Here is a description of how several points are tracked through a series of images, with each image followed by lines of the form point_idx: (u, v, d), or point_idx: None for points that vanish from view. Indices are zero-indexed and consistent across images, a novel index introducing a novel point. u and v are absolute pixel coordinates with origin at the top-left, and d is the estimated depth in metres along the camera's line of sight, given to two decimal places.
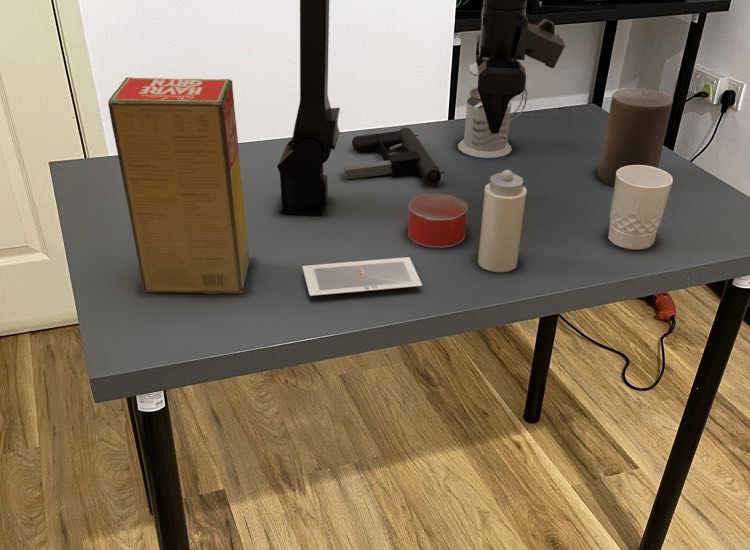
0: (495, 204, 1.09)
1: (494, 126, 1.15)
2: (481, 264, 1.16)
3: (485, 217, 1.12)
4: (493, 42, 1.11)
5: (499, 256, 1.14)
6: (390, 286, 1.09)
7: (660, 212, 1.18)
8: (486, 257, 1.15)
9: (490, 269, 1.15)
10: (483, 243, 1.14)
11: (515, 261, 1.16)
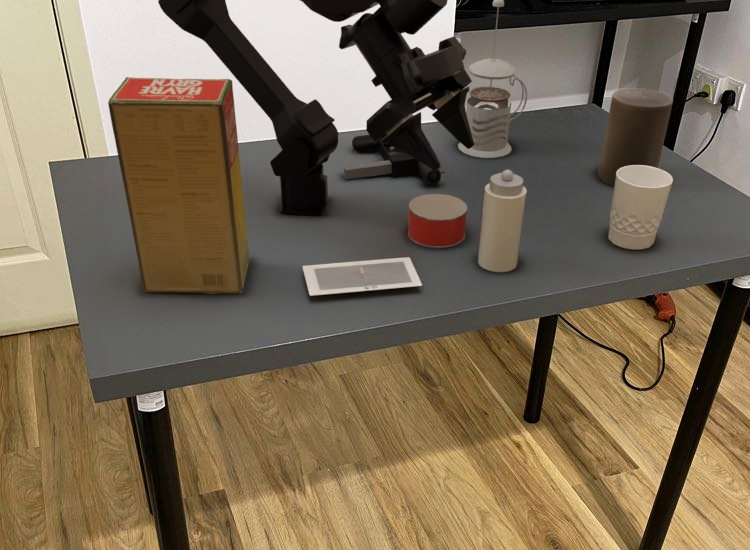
0: (495, 204, 1.09)
1: (430, 162, 1.09)
2: (481, 264, 1.16)
3: (485, 217, 1.12)
4: (391, 93, 1.10)
5: (499, 256, 1.14)
6: (390, 286, 1.09)
7: (660, 212, 1.18)
8: (486, 257, 1.15)
9: (490, 269, 1.15)
10: (483, 243, 1.14)
11: (515, 261, 1.16)
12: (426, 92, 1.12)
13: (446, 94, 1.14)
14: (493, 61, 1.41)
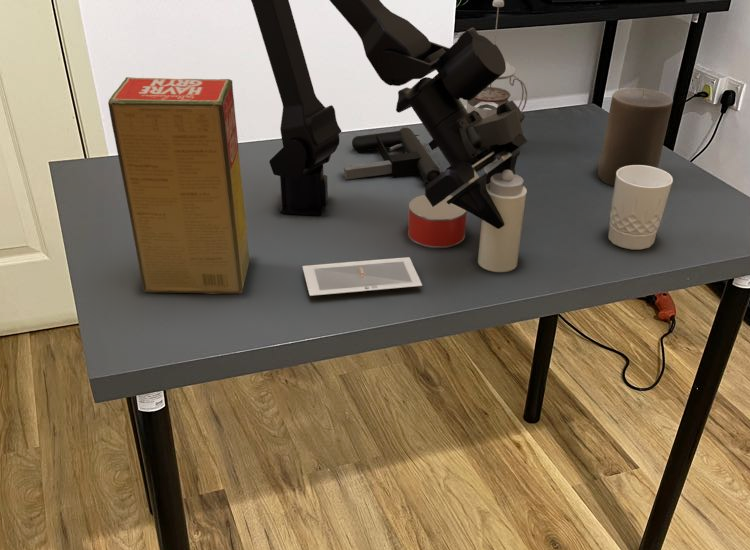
0: (495, 204, 1.09)
1: (494, 221, 1.10)
2: (481, 264, 1.16)
3: None
4: (448, 157, 1.10)
5: (499, 256, 1.14)
6: (390, 286, 1.09)
7: (660, 212, 1.18)
8: (486, 257, 1.15)
9: (490, 269, 1.15)
10: (483, 243, 1.14)
11: (515, 261, 1.16)
12: (482, 154, 1.12)
13: (496, 159, 1.13)
14: None
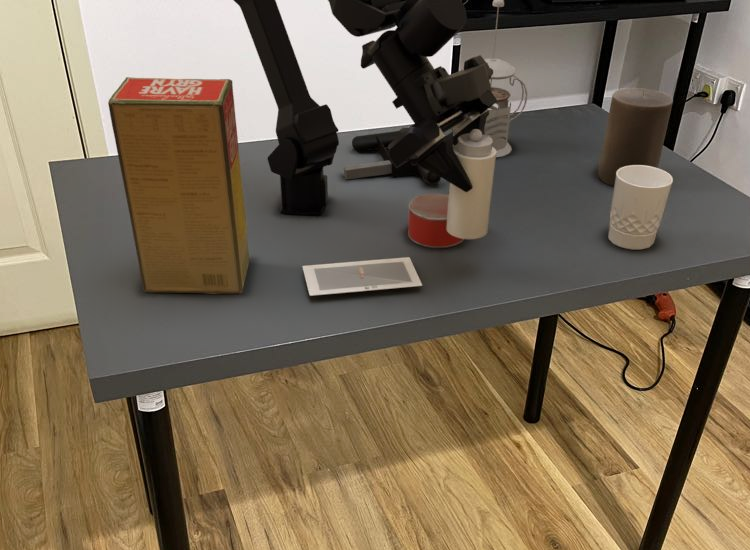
0: (462, 165, 1.03)
1: (461, 184, 1.04)
2: (449, 231, 1.10)
3: None
4: (413, 116, 1.04)
5: (468, 222, 1.08)
6: (390, 286, 1.09)
7: (660, 212, 1.18)
8: (454, 223, 1.09)
9: (459, 236, 1.09)
10: (451, 209, 1.08)
11: (485, 228, 1.10)
12: (450, 113, 1.06)
13: (464, 119, 1.07)
14: (493, 61, 1.41)
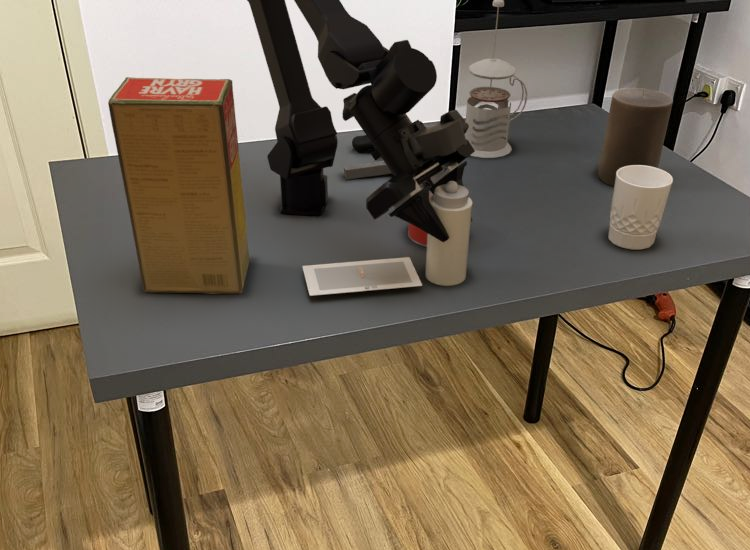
0: (439, 216, 1.06)
1: (438, 235, 1.07)
2: (428, 277, 1.13)
3: None
4: (391, 168, 1.07)
5: (446, 269, 1.10)
6: (390, 286, 1.09)
7: (660, 212, 1.18)
8: (432, 270, 1.11)
9: (437, 282, 1.12)
10: (429, 256, 1.11)
11: (463, 274, 1.12)
12: (428, 165, 1.09)
13: (442, 169, 1.10)
14: (493, 61, 1.41)
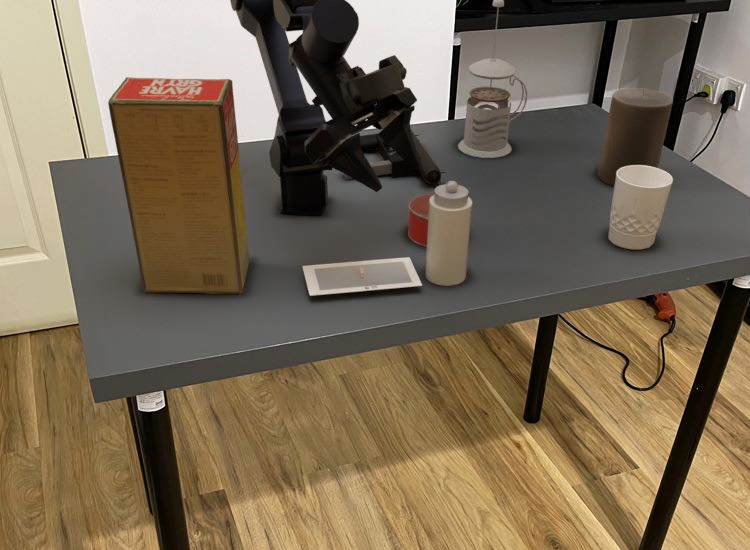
0: (439, 216, 1.06)
1: (371, 184, 1.06)
2: (428, 277, 1.13)
3: (430, 229, 1.09)
4: (331, 114, 1.07)
5: (446, 269, 1.10)
6: (390, 286, 1.09)
7: (660, 212, 1.18)
8: (432, 270, 1.11)
9: (437, 282, 1.12)
10: (429, 256, 1.11)
11: (463, 274, 1.12)
12: (369, 112, 1.10)
13: (390, 113, 1.12)
14: (493, 61, 1.41)
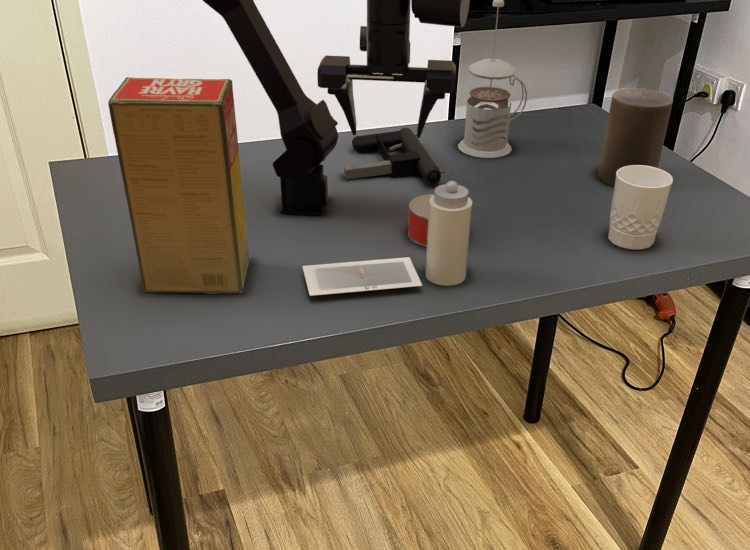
0: (439, 216, 1.06)
1: None
2: (428, 277, 1.13)
3: (430, 229, 1.09)
4: (406, 55, 1.11)
5: (446, 269, 1.10)
6: (390, 286, 1.09)
7: (660, 212, 1.18)
8: (432, 270, 1.11)
9: (437, 282, 1.12)
10: (429, 256, 1.11)
11: (463, 274, 1.12)
12: None
13: None
14: (493, 61, 1.41)
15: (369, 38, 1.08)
